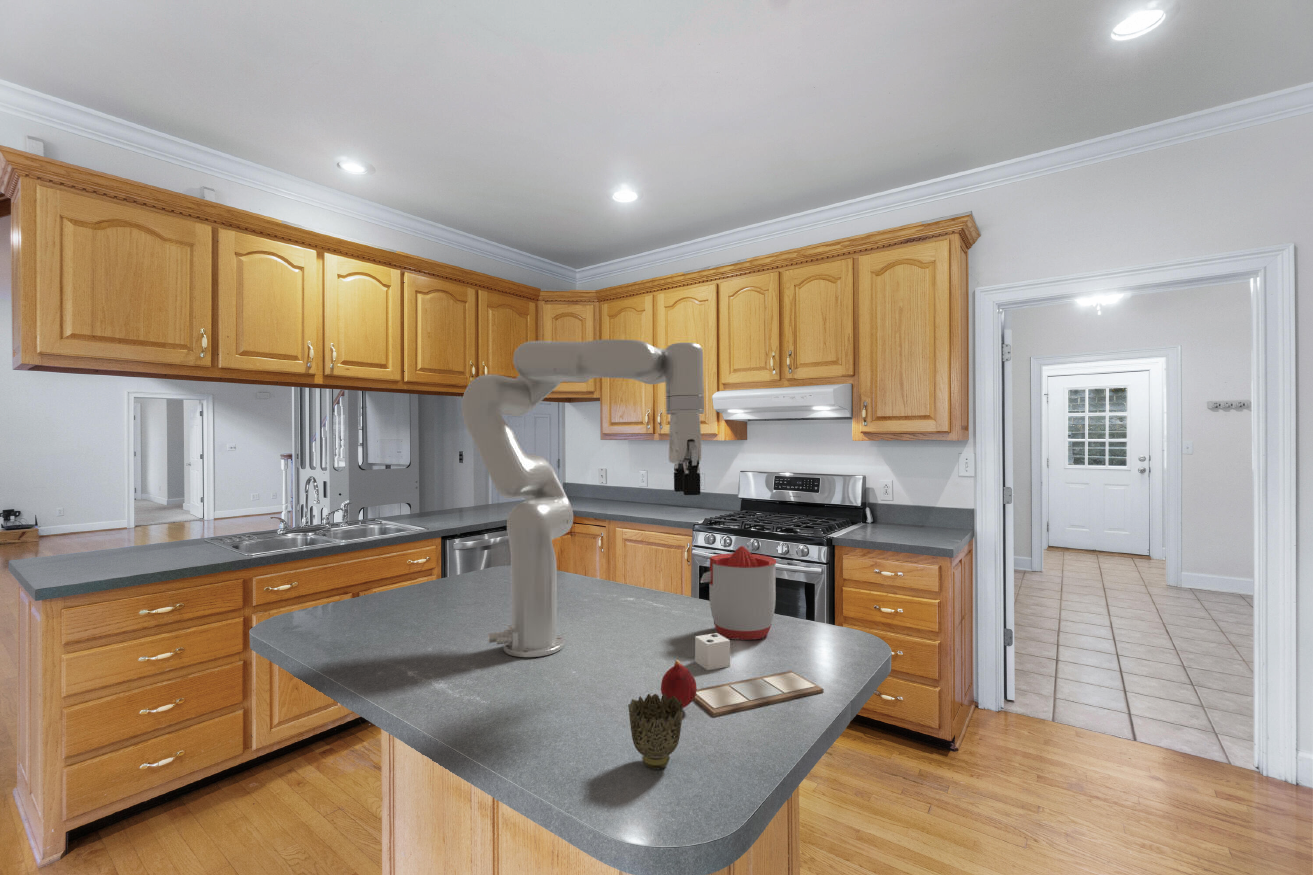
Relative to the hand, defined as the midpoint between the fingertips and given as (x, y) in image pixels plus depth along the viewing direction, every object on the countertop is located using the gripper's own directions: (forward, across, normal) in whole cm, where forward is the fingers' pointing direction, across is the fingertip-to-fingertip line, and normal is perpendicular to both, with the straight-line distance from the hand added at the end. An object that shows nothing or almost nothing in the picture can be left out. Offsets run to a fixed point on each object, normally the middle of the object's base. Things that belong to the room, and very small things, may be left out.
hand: (686, 493), depth 113 cm
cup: (+34, +34, -12) cm, 49 cm away
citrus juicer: (+34, -18, +15) cm, 41 cm away
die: (+34, 0, +4) cm, 34 cm away
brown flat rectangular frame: (+34, +14, +9) cm, 38 cm away
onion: (+34, +18, -6) cm, 39 cm away
